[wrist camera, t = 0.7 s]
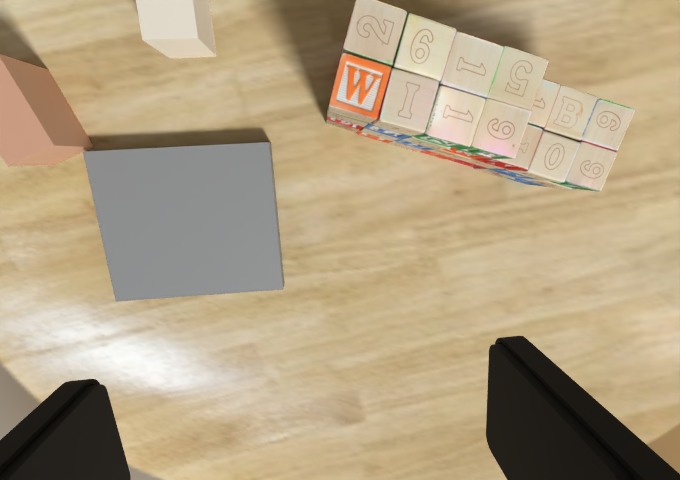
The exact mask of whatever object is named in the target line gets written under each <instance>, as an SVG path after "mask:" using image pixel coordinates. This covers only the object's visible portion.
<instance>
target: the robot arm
mask: <svg viewBox="0 0 680 480" xmlns="http://www.w3.org/2000/svg"><path fill="white" fill-rule="evenodd" d="M486 437H487V442H488V445H489V448H490V450H491V452H492V454H493V456H494V457H495V459H496V461H497V463H498V464H499V466H500V468H501V469H502V471H503V473H504V475H505V476H506V478H507V480H680V474H679V473H678V472H677V471H675V470H674V469H673V468H672V467H671V466H670V465H669V464H668V463H666V462H665V461H664V460H663V459H662V458H661V457H660V456H658V455H657V454H656V453H655V452H654V451H653V450H652V449H650V448H649V447H648V446H647V445H646V444H645V443H644V442H643V441H641V440H640V439H639V438H638V437H637V436H636V435H635V434H634V433H632V432H631V431H630V430H629V429H628V428H627V427H626V426H625V425H623V424H622V423H621V422H620V421H619V420H618V419H617V418H615V417H614V416H613V415H612V414H611V413H610V412H609V411H608V410H606V409H605V408H604V407H603V406H602V405H601V404H600V403H598V402H597V401H596V400H595V399H594V398H593V397H592V396H591V395H589V394H588V393H587V392H586V391H585V390H584V389H583V388H581V387H580V386H579V385H578V384H577V383H576V382H575V381H574V380H572V379H571V378H570V377H569V376H568V375H567V374H566V373H564V372H563V371H562V370H561V369H560V368H559V367H558V366H557V365H555V364H554V363H553V362H552V361H551V360H550V359H549V358H547V357H546V356H545V355H544V354H543V353H542V352H541V351H540V350H538V349H537V348H536V347H535V346H534V345H533V344H532V343H531V342H529V341H528V340H527V339H526V338H525V337H523V336H513V337H503V338H498V339H497V340H496V342H495V344H494V345H491V346H490V349H489V371H488V398H487V425H486ZM0 480H130V472H129V468H128V465H127V461H126V457H125V454H124V450H123V447H122V443H121V439H120V436H119V432H118V428H117V425H116V421H115V418H114V414H113V410H112V407H111V403H110V399H109V396H108V392H107V389H106V387H105V386H104V385H100V383H99V382H98V381H97V380H95V379H87V380H77V381H69V382H65V383H64V384H62V385H61V386H60V387H59V388H58V389H57V390H55V391H54V392H53V393H52V394H51V395H50V396H49V397H48V398H47V399H46V400H44V401H43V402H42V403H41V404H40V405H39V406H38V407H37V408H36V409H34V410H33V411H32V412H31V413H30V414H29V415H28V416H27V417H26V418H24V419H23V420H22V421H21V422H20V423H19V424H18V425H17V426H16V427H15V428H13V430H11V431H10V432H9V433H8V434H7V435H6V436H5V437H4V438H2V439H1V440H0Z"/></svg>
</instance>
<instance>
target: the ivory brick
mask: <svg viewBox="0 0 680 480" xmlns="http://www.w3.org/2000/svg"><path fill="white" fill-rule="evenodd" d="M136 4H137V10H138V16H139V22H140V28H141V34H142V40H143V41H145V42H146V43H148V44H149V45H151V46H152V47H154V48H155V49H157V50H158V51H160V52H161V53H163V54H164V55H166V56H167V57H169V58H193V57H217V56H216V48H215V40H214V32H213V24H212V15H211V7H210V0H136Z"/></svg>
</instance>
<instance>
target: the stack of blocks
mask: <svg viewBox="0 0 680 480" xmlns="http://www.w3.org/2000/svg"><path fill="white" fill-rule="evenodd" d="M548 64H549V60H548V59H545V58H542V57H539V56H536V55H533V54H530V53H527V52H524V51H521V50H518V49H515V48H512V47H509V46H501V45H498V44H496V43H493V42H490V41H487V40H484V39H481V38H477V37H475V36H472V35H469V34H466V33H463V32H457V30H456V29H455V28H453V27H450V26H447V25H445V24H442V23H439V22H436V21H433V20H430V19H427V18H424V17H421V16H418V15H415V14H412V13H407V12H406V11H405V10H404V9H401V8H398V7H395V6H393V5H390V4H387V3H384V2H381V1H379V0H356V1H355V5H354V9H353V13H352V15H351V16H350V20H349V24H348V28H347V33H346V37H345V41H344V44H343V48H342V52H341V56H340V60H339V64H338V67H337V71H336V75H335V80H334V84H333V88H332V93H331V97H330V101H329V105H328V109H327V120H326V123H327V124H330V125H333V126H336V127H340V128H343V129H346V130H349V131H353V132H356V133H357V134H359V135H363V136H366V137H369V138H372V139H376V140H379V141H382V142H386V143H389V144H392V145H395V146H398V147H401V148H405V149H408V150H411V151H420V152H422V153H426V154H429V155H432V156H436V157H439V158H442V159H448V160H451V161H454V162H458V163H461V164H464V165H468V166H471V167H474V169H476V170H480V171H483V172H486V173H489V174H493V175H496V176H499V177H505V178H508V179H511V180H514V181H518V182H521V183H525V184H529V185H537V186H545V187H552V188H560V189H572V188H574V189H582V190H590V191H601V189H602V187H603V185H604V183H605V180H606V178H607V176H608V173H609V171H610V169H611V167H612V164H613V162H614V160H615V158H616V155H617V150H618V148H619V146H620V144H621V142H622V140H623V137H624V135H625V133H626V130H627V128H628V126H629V124H630V121H631V119H632V116H633V114H634V112H635V110H634V109H632V108H629V107H625V106H622V105H619V104H616V103H613V102H610V101H607V100H603V99H598V97H596V96H594V95H591V94H588V93H585V92H582V91H578V90H575V89H572V88H569V87H566V86H563V85H559V84H558V83H555V82H552V81H549V80H546V79H543V77H544V74H545V72H546V69H547V67H548Z"/></svg>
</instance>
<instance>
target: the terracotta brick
mask: <svg viewBox="0 0 680 480" xmlns="http://www.w3.org/2000/svg"><path fill="white" fill-rule="evenodd" d="M91 148H94V146H93V145H92V143H91V141H90V140H89V138H88V136H87V134H86V133H85V131H84V129H83V128H82V126H81V124H80V122H79V121H78V119H77V117H76V116H75V114H74V112H73V111H72V109H71V107H70V105H69V104H68V102H67V100H66V99H65V97H64V95H63V93H62V92H61V90H60V88H59V87H58V85H57V83H56V82H55V80H54V78H53V76H52V75H51V73H50V71H49V70H48V69H45V68H42V67H39V66H36V65H32V64H29V63H26V62H23V61H20V60H17V59H14V58H11V57H8V56H5V55H2V54H0V155H1V156H2V158H3V159H4V161H5V162H6V164H7V165H8V166H37V165H56V164H58V163H60V162H63V161H65V160H67V159H69V158H71V157H74V156H76V155H78V154H80V153H83V152H84V151H87V150H89V149H91Z"/></svg>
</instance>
